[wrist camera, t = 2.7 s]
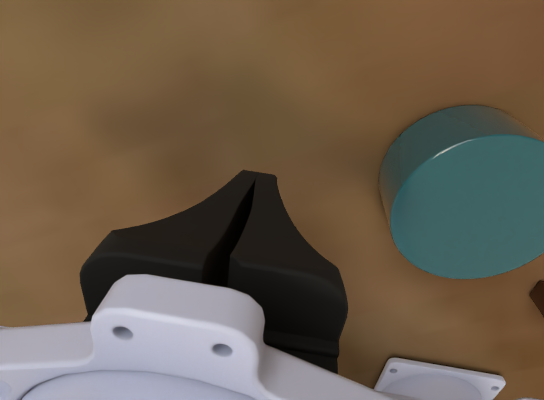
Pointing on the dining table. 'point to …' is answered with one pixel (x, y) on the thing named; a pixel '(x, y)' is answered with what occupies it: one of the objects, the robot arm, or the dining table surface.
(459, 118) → the teal puck
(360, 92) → the dining table surface
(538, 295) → the walnut bay
